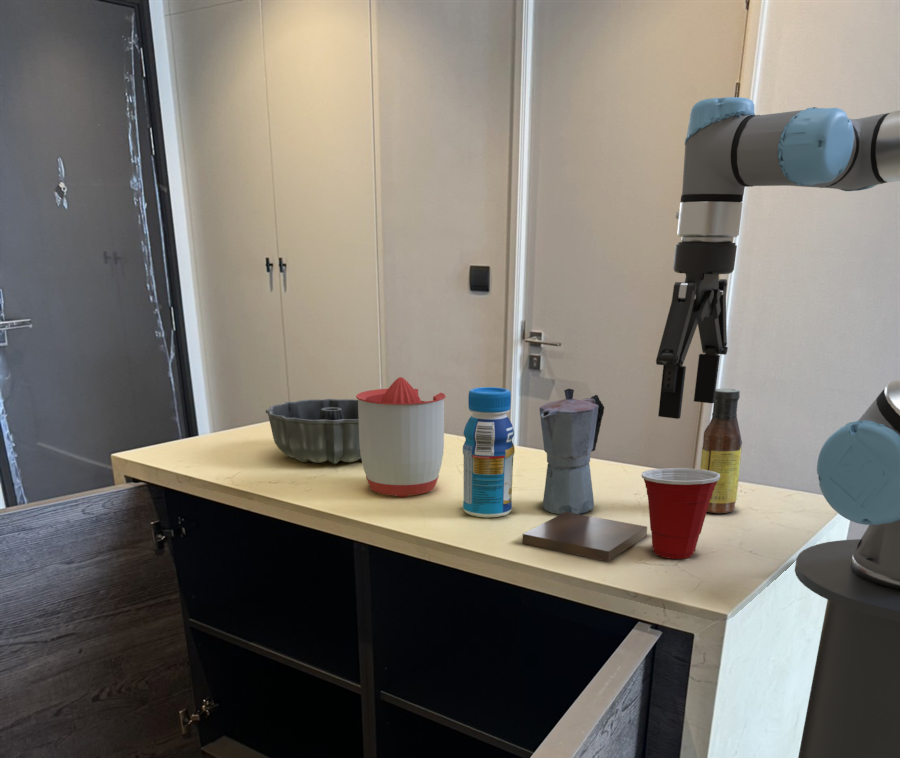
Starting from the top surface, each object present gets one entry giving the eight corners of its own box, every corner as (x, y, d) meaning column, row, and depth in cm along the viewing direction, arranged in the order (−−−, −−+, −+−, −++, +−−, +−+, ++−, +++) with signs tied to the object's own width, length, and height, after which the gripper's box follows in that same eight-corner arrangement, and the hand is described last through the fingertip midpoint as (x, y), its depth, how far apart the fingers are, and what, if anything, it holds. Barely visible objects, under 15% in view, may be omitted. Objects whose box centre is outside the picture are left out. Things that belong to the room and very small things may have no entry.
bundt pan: (363, 437, 198) (361, 393, 194) (419, 461, 177) (418, 412, 173) (252, 450, 185) (248, 403, 182) (298, 477, 165) (295, 425, 161)
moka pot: (517, 511, 144) (521, 390, 137) (571, 493, 155) (578, 379, 147) (564, 523, 138) (571, 396, 131) (617, 503, 149) (626, 385, 141)
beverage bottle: (451, 510, 145) (452, 389, 137) (490, 501, 150) (493, 384, 142) (483, 522, 139) (486, 396, 131) (522, 513, 143) (527, 391, 136)
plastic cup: (684, 537, 132) (692, 460, 127) (726, 560, 122) (737, 477, 118) (620, 544, 129) (627, 465, 124) (659, 568, 119) (667, 484, 115)
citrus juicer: (469, 486, 159) (470, 375, 151) (402, 506, 147) (400, 387, 139) (409, 472, 168) (407, 367, 161) (341, 489, 157) (336, 377, 149)
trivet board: (646, 535, 133) (647, 526, 132) (608, 561, 122) (609, 551, 121) (565, 520, 140) (565, 511, 139) (522, 543, 129) (522, 533, 128)
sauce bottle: (742, 510, 145) (759, 390, 137) (718, 517, 142) (734, 394, 134) (711, 502, 150) (725, 385, 142) (687, 507, 147) (700, 389, 139)
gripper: (709, 239, 120) (691, 393, 129) (640, 239, 101) (624, 420, 109) (764, 240, 116) (742, 399, 125) (703, 240, 97) (681, 428, 106)
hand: (687, 409), depth 117 cm, fingers open, 13 cm apart
